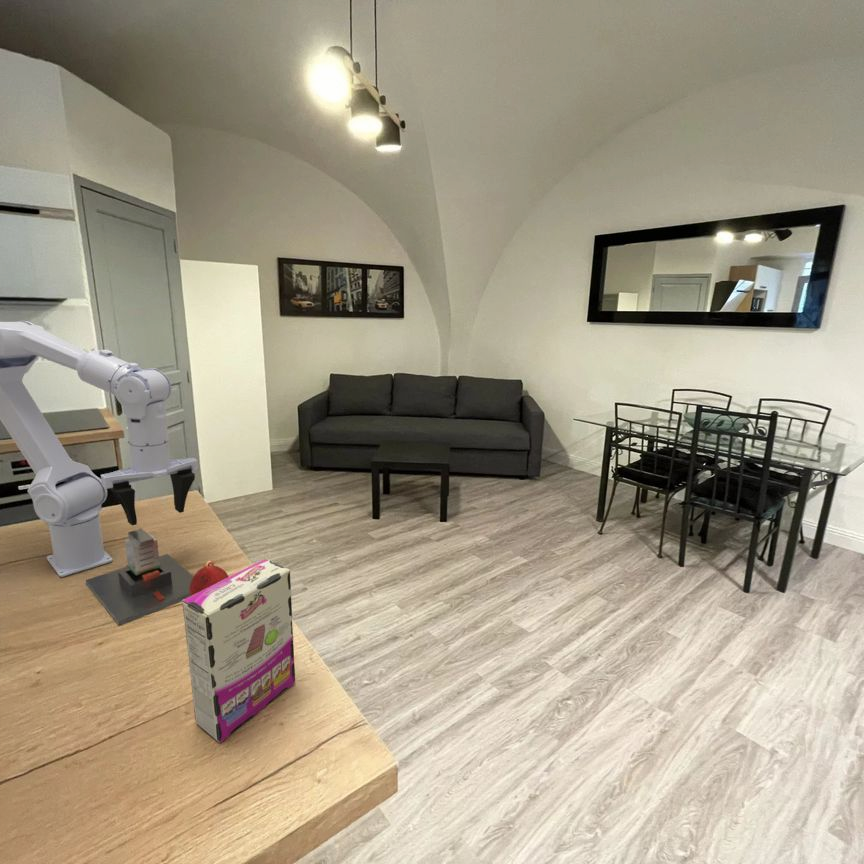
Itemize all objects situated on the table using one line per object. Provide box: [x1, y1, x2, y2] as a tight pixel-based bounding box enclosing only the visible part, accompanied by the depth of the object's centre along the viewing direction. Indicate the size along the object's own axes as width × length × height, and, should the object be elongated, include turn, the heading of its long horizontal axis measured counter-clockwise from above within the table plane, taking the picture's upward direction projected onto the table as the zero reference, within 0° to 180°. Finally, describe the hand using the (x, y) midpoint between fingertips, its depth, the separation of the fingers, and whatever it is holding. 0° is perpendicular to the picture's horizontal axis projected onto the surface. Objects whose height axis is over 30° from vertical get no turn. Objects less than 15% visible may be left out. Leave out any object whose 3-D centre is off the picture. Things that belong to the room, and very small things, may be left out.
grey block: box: [124, 528, 161, 575], centre depth 79 cm, size 5×4×6 cm
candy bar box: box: [181, 558, 296, 744], centre depth 56 cm, size 11×5×16 cm, turn 148°
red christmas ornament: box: [190, 560, 229, 596], centre depth 76 cm, size 6×6×8 cm
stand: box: [85, 553, 194, 626], centre depth 81 cm, size 16×13×4 cm
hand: (156, 516), depth 84 cm, fingers open, 7 cm apart
